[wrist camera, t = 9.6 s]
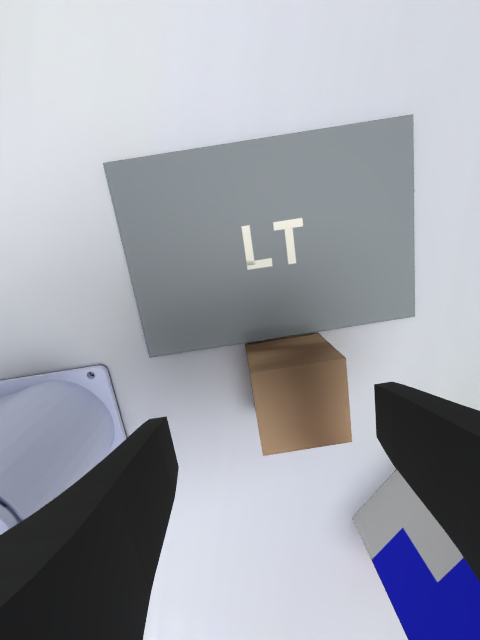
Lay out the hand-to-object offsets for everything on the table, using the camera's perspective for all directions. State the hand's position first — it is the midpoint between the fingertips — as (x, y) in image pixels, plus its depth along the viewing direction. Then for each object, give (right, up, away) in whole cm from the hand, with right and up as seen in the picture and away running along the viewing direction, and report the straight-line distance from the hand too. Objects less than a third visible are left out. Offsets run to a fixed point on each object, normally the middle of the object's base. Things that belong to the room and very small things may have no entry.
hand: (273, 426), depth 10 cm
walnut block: (+2, 0, +10) cm, 11 cm away
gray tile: (+1, +8, +8) cm, 12 cm away
